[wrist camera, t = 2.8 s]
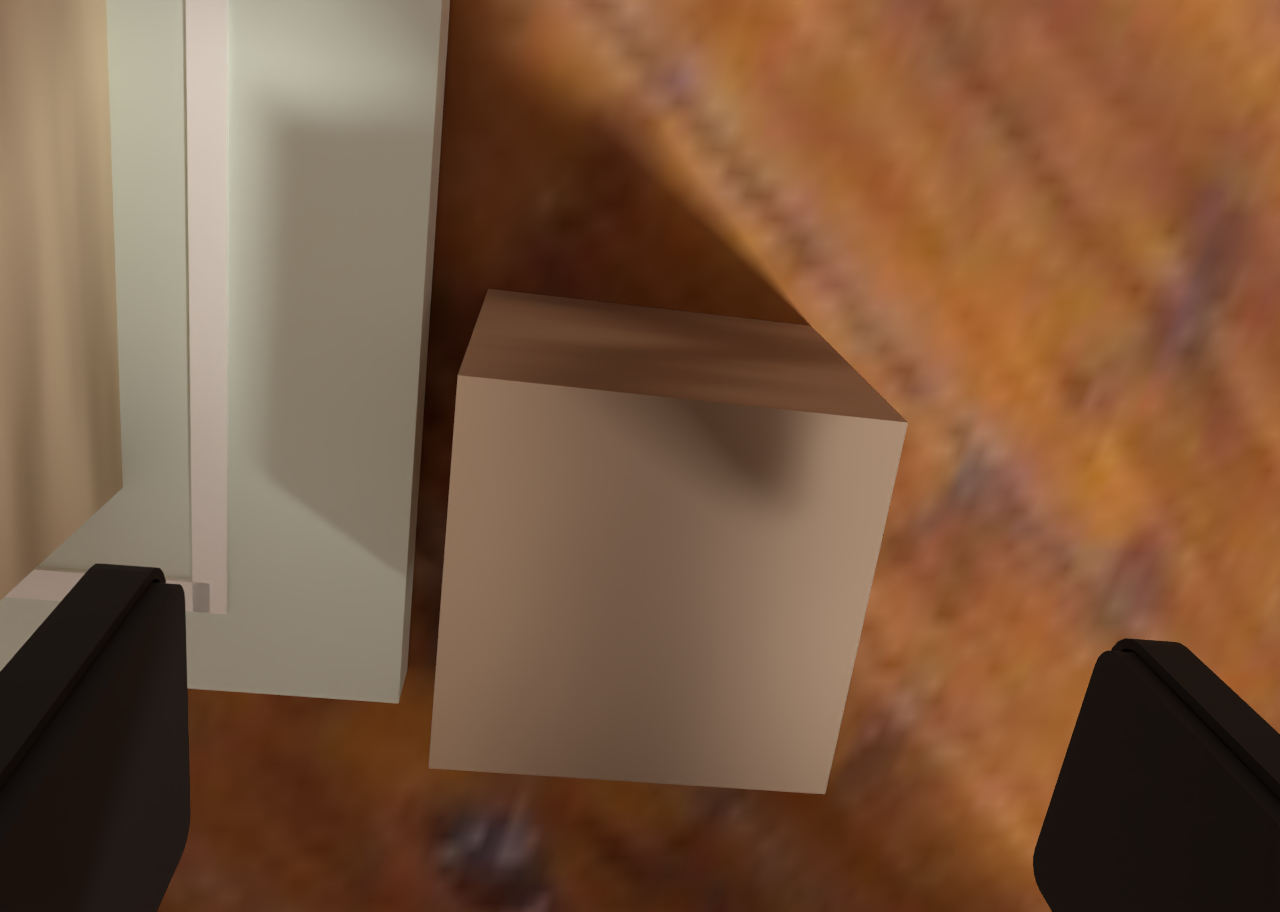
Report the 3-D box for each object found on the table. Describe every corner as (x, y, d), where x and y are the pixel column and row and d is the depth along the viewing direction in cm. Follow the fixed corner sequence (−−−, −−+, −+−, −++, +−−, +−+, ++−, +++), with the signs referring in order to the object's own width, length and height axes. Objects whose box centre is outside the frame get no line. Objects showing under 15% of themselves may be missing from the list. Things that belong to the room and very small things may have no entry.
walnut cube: (809, 324, 20) (908, 422, 14) (756, 608, 22) (825, 794, 16) (488, 288, 19) (458, 375, 14) (464, 583, 21) (428, 768, 15)
